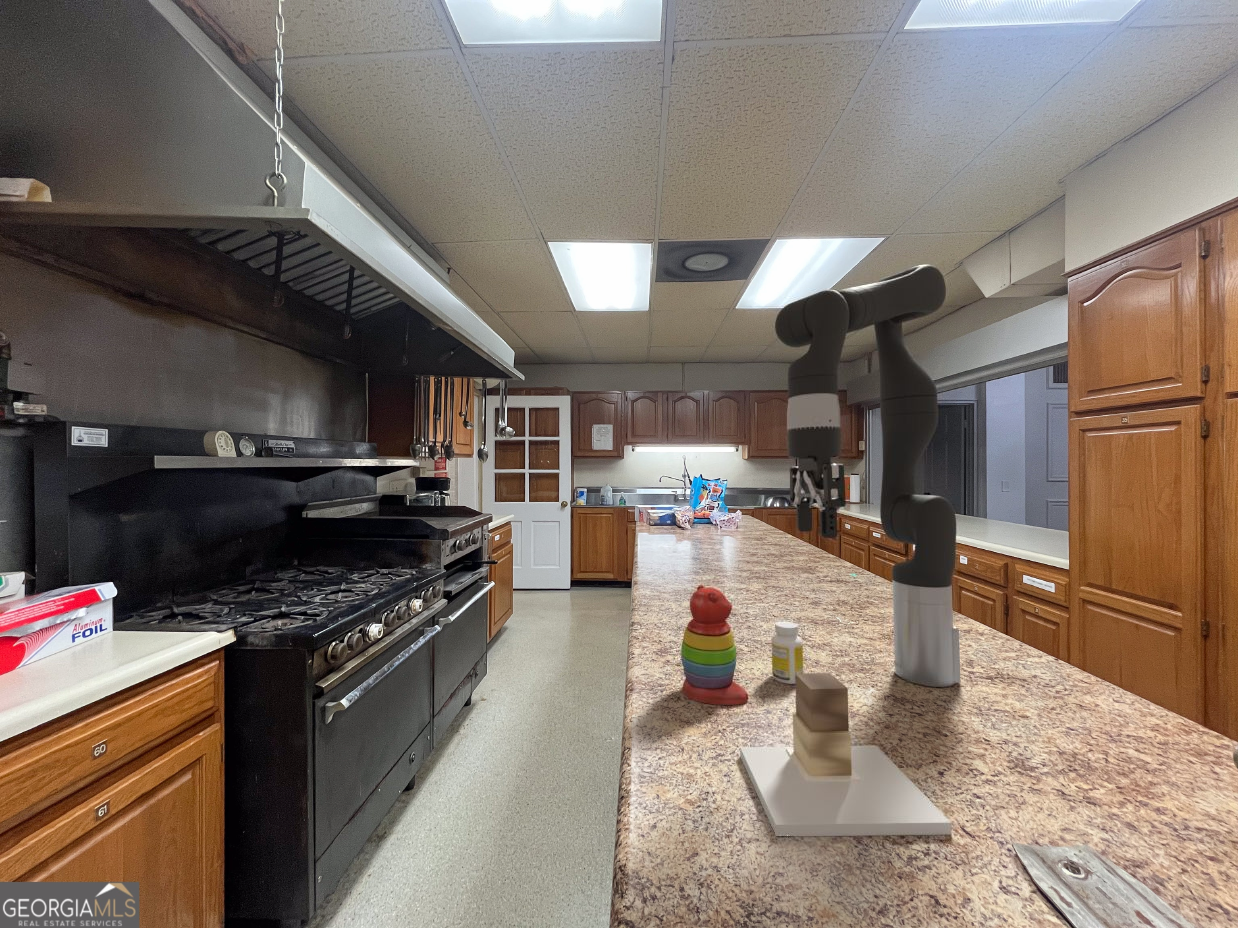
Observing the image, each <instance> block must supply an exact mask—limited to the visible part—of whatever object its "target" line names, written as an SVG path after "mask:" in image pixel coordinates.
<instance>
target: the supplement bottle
mask: <svg viewBox="0 0 1238 928" xmlns="http://www.w3.org/2000/svg"><path fill="white" fill-rule="evenodd" d="M774 631H775V634H774V635H772V636H771V667H772V669H771V671H772V676H773V679H774V680H775V681H777V682H779V683H782V684H785V685H787V684H788V685H795V674H805V673H804V652H803V651H804V649H803V646H804V645H803V640H802V638H801V637H800V636H799V635H798V634H799V625H798V624H797V623H795V622H791V621H778V622H777V621H776V622H775V624H774Z"/></svg>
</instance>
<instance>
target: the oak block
mask: <svg viewBox="0 0 1238 928" xmlns="http://www.w3.org/2000/svg"><path fill="white" fill-rule="evenodd" d="M851 736H852V734H851V731H850V730H849V731H826V732H811V731H810V729H809V728H808V727H807V726H806V725H805V723H804V722H803V721H802V720H801V719H800V717H799V716H798V715H797V714H796V711H795V712H794V711H793V712H792V743H793V744H792V745H793V746H792V747H793V750H794V753H795V755H796V756H797V758H798V759H799V761H800V762H801V764H802V765H803V767H804V769H805V770H806V772H807V773H808V775H809V776H852V765H851V746H852V737H851Z"/></svg>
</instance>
